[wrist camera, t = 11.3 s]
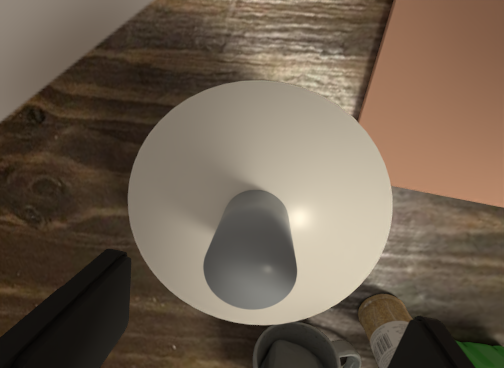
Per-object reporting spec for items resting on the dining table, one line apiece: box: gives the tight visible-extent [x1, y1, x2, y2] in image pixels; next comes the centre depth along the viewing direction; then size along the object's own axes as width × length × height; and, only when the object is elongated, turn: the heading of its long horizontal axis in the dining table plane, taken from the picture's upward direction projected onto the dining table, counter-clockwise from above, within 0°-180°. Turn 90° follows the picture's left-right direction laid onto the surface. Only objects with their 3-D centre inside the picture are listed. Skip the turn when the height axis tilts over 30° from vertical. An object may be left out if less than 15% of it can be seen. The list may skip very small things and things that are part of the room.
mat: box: [357, 0, 504, 207], centre depth 19 cm, size 17×17×1 cm
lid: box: [128, 80, 392, 325], centre depth 14 cm, size 16×16×6 cm
